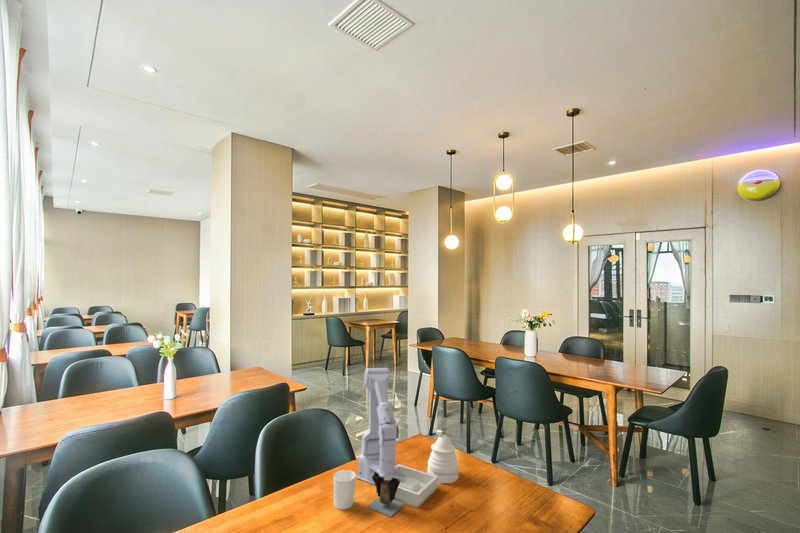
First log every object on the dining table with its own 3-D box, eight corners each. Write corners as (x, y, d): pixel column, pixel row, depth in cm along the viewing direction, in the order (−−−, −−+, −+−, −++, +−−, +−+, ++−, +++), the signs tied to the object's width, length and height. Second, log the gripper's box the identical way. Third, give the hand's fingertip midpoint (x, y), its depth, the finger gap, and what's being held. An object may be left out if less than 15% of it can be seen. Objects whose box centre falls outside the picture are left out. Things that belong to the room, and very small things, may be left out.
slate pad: (366, 507, 131) (366, 506, 131) (381, 496, 139) (381, 495, 139) (391, 517, 126) (391, 516, 126) (404, 504, 134) (404, 503, 134)
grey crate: (376, 492, 142) (376, 480, 142) (398, 475, 155) (398, 464, 156) (418, 508, 132) (418, 494, 133) (437, 488, 146) (437, 476, 146)
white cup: (358, 501, 135) (359, 472, 136) (348, 513, 128) (349, 482, 129) (338, 496, 138) (340, 468, 139) (328, 507, 131) (329, 478, 131)
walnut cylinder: (377, 501, 132) (378, 483, 133) (384, 496, 136) (385, 478, 137) (388, 505, 130) (388, 487, 130) (394, 500, 134) (395, 482, 134)
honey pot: (424, 481, 151) (426, 435, 153) (429, 466, 164) (431, 424, 165) (457, 486, 148) (458, 439, 150) (459, 471, 161) (460, 428, 162)
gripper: (364, 456, 134) (362, 496, 133) (399, 467, 127) (397, 509, 126) (375, 449, 140) (374, 487, 139) (409, 460, 133) (408, 499, 132)
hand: (386, 497), depth 133 cm, fingers closed on walnut cylinder, 4 cm apart
